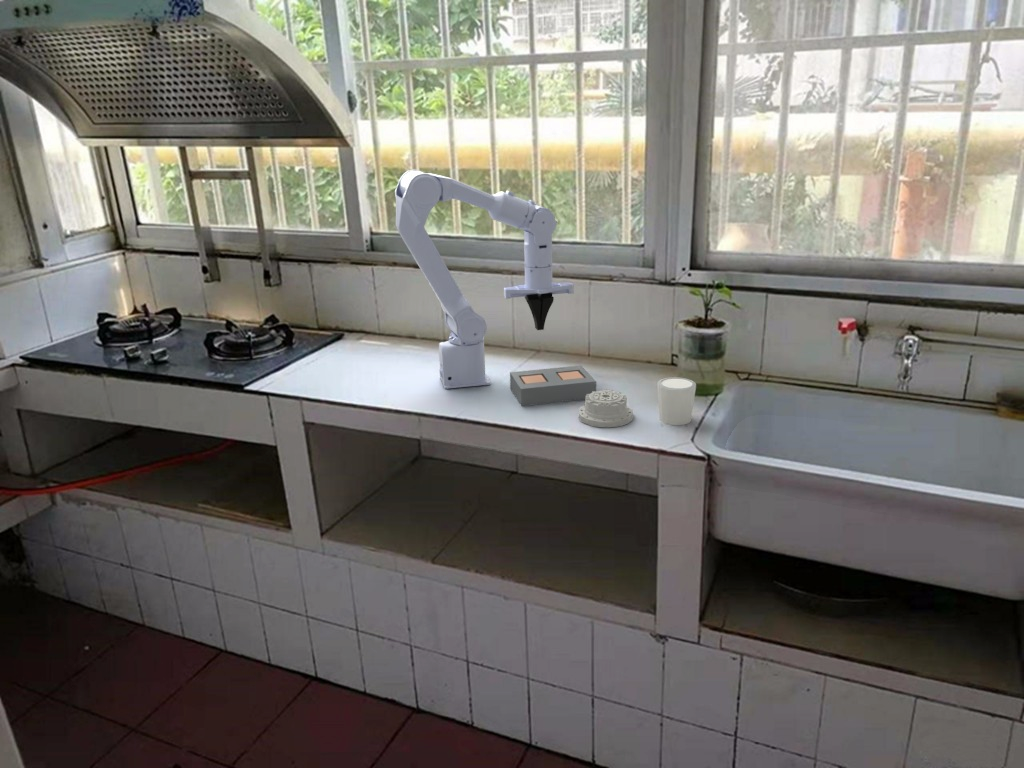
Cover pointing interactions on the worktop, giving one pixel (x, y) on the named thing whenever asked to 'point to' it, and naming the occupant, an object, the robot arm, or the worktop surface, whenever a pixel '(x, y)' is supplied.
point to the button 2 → (570, 375)
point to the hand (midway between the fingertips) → (539, 328)
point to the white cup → (676, 400)
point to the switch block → (551, 386)
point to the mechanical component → (605, 409)
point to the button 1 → (532, 379)
